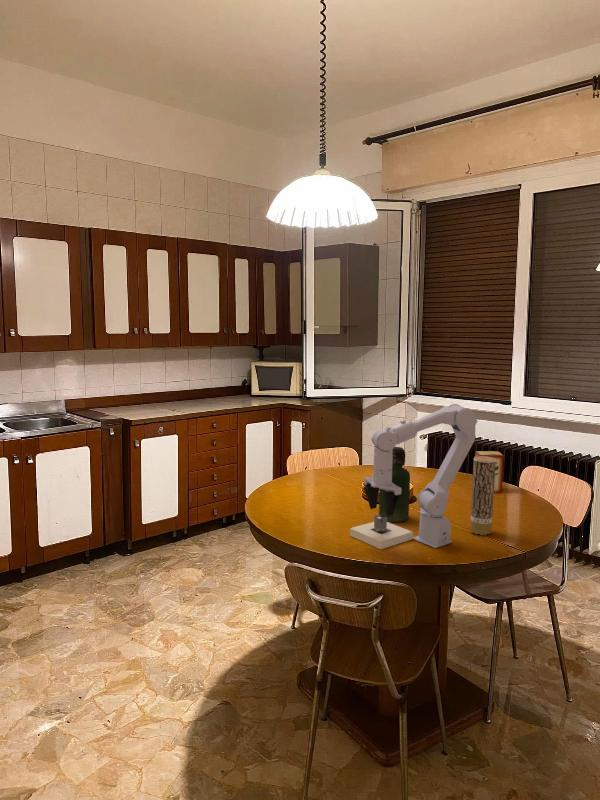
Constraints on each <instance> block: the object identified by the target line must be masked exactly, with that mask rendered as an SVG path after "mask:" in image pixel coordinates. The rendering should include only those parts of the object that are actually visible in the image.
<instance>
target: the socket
mask: <svg viewBox="0 0 600 800" xmlns="http://www.w3.org/2000/svg"><path fill="white" fill-rule="evenodd" d="M413 533H414V532H413V531H411V530H409V529H406V528H403V527H401V526H399V525H396V524H393V523H391V522H390V521H387V532H386V533H383V534H379V533H377V532H375V531H374V521H372V522H368V523H365V524H361V525H358V526H357V525H356V526H353V527H350V528H349V536H350V537H352V538H355V539H356V540H358V541H361V542H363V543H366V544H368V545H370V546H372V547H375V548H376V549H379V550H383V549H386V548H389V547H393V546H396V545H398V544H403V543H405V542H408V541H412V540H413Z"/></svg>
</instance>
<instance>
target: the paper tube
mask: <svg viewBox="0 0 600 800" xmlns="http://www.w3.org/2000/svg"><path fill="white" fill-rule="evenodd" d="M495 464H496V459H495V458H493V457H488V456H476V457H475V456H474V457H473V467H472V468H473V469H472V485H471V489H472V490H471V506H470V507H471V509H470V526H469V527H470V528H469V529H470V532H471V533H472V532H473V533H472V534H474V533H475V534H474V535H477V534H480V535H479V536H488V535H487V534H489V535H491V534H492V531H493V518H494V517H493V515H494V499H495V495H494V494H495V493H494V482H495ZM490 533H491V534H490Z"/></svg>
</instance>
